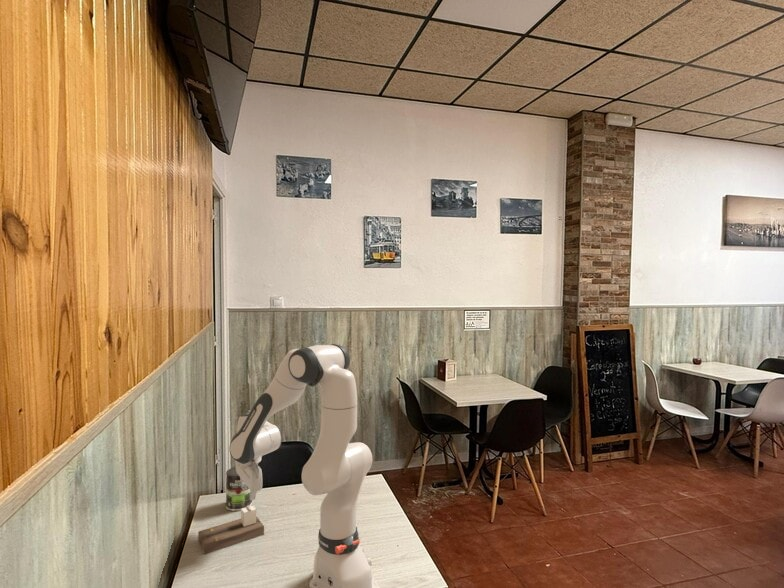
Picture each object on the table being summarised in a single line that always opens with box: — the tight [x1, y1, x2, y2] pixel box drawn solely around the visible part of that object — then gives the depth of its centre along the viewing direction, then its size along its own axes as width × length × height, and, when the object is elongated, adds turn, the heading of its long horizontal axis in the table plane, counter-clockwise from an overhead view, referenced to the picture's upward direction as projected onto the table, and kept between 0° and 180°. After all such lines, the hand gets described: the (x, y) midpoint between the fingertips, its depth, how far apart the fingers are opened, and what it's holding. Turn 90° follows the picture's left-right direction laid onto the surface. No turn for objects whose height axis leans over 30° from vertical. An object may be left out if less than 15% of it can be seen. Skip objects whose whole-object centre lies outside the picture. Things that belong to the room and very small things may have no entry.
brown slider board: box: [197, 515, 265, 555], centre depth 147 cm, size 10×20×3 cm, turn 126°
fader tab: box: [240, 505, 257, 527], centre depth 151 cm, size 4×4×5 cm
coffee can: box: [225, 466, 253, 512], centre depth 170 cm, size 10×10×14 cm
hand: (248, 493), depth 151 cm, fingers open, 8 cm apart
